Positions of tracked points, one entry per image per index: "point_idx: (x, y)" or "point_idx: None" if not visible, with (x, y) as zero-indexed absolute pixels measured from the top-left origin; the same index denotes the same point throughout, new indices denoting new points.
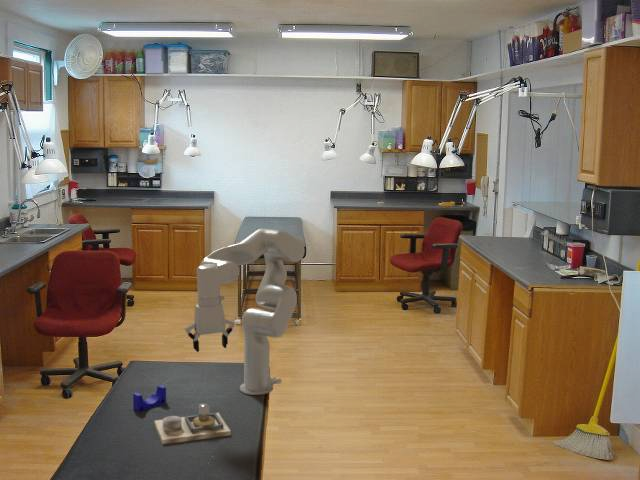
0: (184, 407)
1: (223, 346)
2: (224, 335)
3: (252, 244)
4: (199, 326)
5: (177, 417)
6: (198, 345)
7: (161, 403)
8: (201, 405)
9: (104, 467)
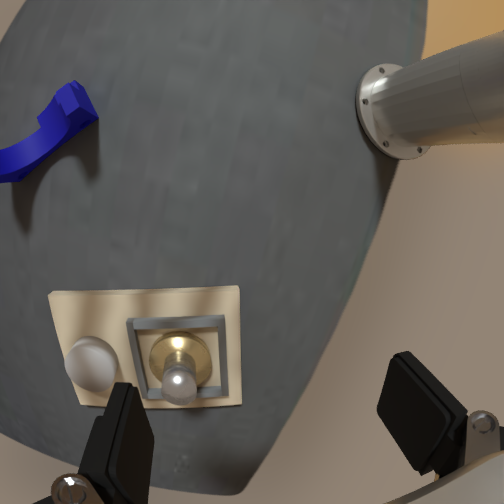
0: (145, 176)
1: (383, 391)
2: (437, 468)
3: None
4: None
5: (101, 364)
6: (145, 483)
7: (82, 128)
8: (170, 390)
9: (13, 427)
